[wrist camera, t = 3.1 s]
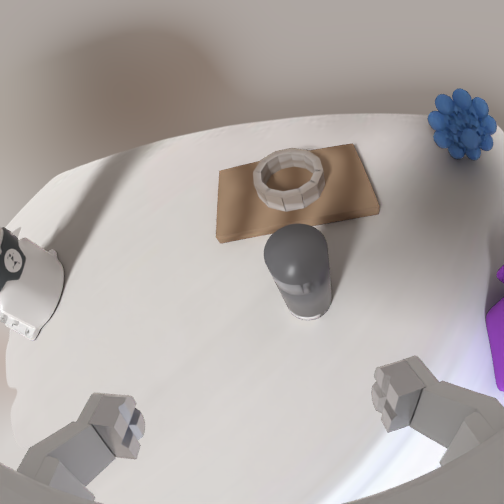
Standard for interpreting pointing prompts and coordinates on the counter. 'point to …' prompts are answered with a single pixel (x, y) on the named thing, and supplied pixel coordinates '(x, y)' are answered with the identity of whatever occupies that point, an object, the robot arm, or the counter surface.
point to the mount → (293, 192)
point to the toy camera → (497, 335)
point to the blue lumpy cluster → (462, 125)
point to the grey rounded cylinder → (300, 269)
